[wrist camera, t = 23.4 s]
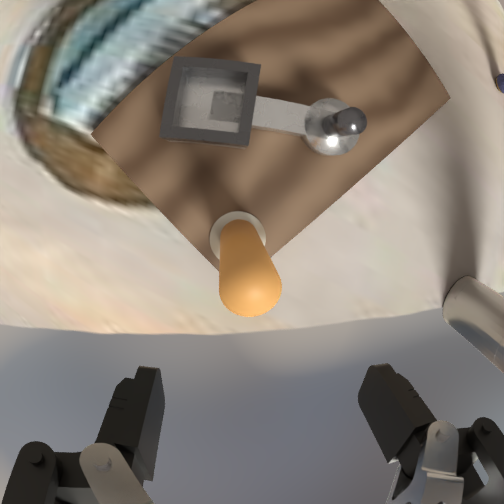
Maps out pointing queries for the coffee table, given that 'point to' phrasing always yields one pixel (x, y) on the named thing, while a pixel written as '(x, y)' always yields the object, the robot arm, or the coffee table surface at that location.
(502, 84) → the rubber mallet
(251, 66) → the lever
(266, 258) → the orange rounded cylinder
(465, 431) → the robot arm
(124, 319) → the coffee table surface
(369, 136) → the base
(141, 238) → the coffee table surface
